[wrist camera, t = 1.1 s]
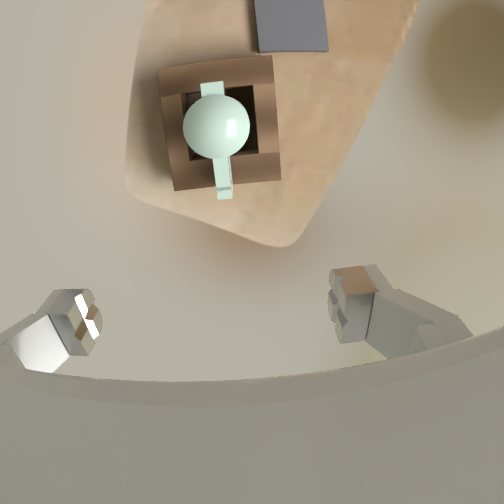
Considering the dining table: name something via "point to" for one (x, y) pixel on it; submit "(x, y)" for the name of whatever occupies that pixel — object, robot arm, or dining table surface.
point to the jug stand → (234, 76)
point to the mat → (291, 26)
